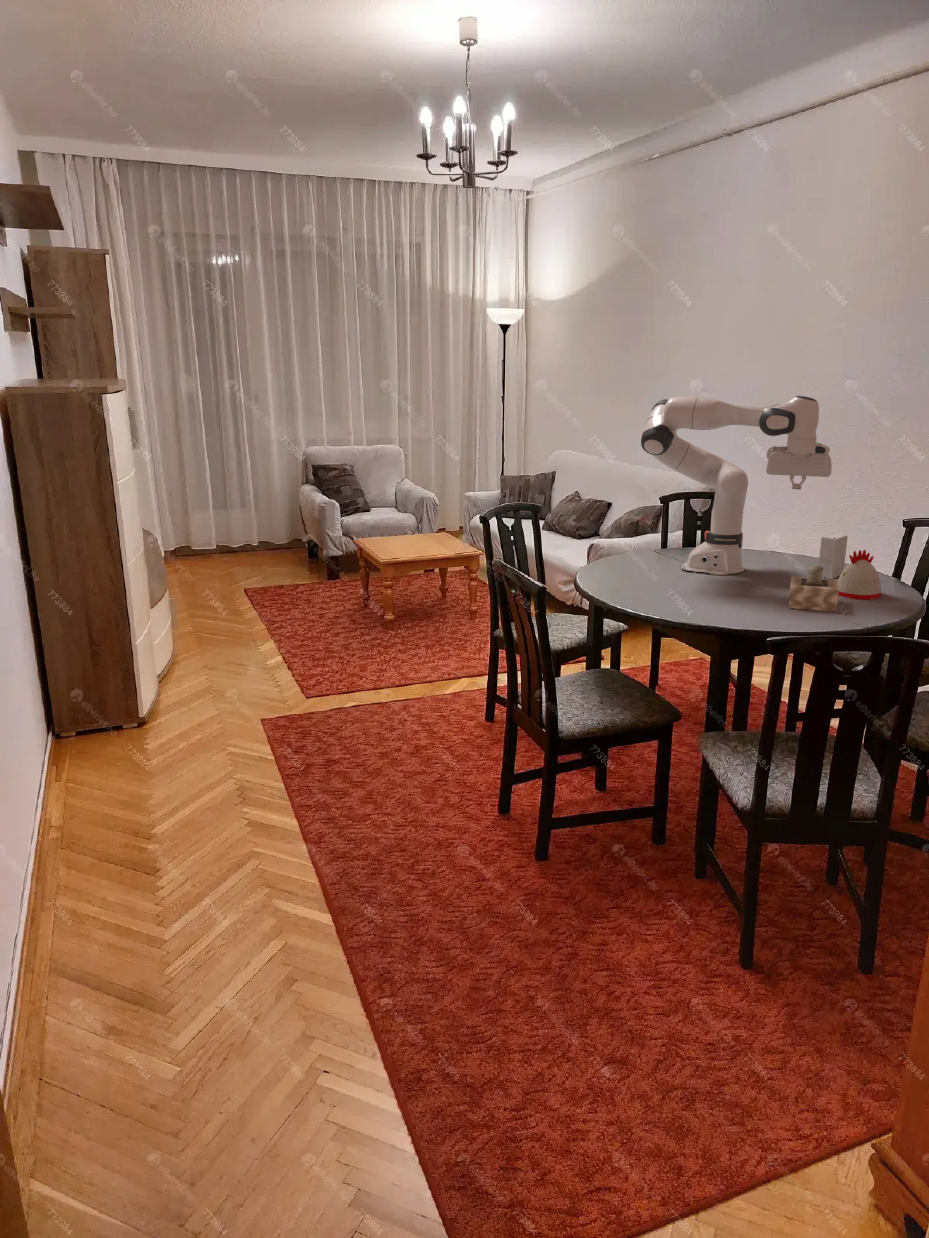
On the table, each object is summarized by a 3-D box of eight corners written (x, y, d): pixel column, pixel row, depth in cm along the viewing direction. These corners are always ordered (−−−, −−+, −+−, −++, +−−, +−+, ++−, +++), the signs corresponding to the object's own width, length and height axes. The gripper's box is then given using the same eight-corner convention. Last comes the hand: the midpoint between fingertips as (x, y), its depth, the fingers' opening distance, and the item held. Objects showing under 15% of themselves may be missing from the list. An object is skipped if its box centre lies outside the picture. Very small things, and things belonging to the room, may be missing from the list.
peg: (804, 599, 275) (807, 568, 272) (805, 595, 279) (807, 565, 276) (820, 600, 273) (823, 569, 271) (820, 596, 277) (823, 566, 275)
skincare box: (828, 572, 316) (832, 532, 312) (844, 575, 312) (848, 534, 307) (816, 576, 311) (820, 535, 307) (832, 579, 307) (836, 538, 302)
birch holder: (788, 608, 273) (790, 585, 271) (789, 597, 286) (791, 575, 283) (836, 611, 268) (838, 588, 266) (835, 600, 281) (837, 578, 279)
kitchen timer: (827, 590, 293) (831, 546, 289) (865, 588, 294) (870, 544, 290) (849, 601, 280) (854, 555, 275) (889, 598, 281) (894, 553, 277)
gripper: (767, 447, 285) (763, 489, 289) (834, 449, 278) (829, 492, 282) (768, 445, 291) (764, 486, 295) (833, 447, 284) (828, 489, 288)
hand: (796, 489), depth 288 cm, fingers closed
